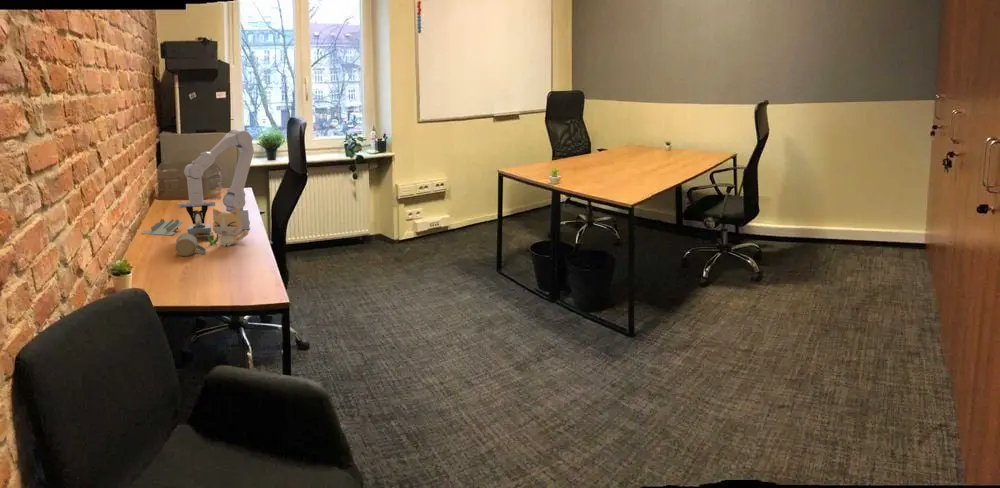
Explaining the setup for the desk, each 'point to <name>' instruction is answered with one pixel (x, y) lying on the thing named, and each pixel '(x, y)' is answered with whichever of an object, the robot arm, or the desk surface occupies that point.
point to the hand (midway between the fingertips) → (198, 223)
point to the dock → (199, 229)
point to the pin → (198, 218)
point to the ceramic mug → (188, 245)
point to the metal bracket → (164, 228)
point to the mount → (203, 236)
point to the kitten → (227, 227)
